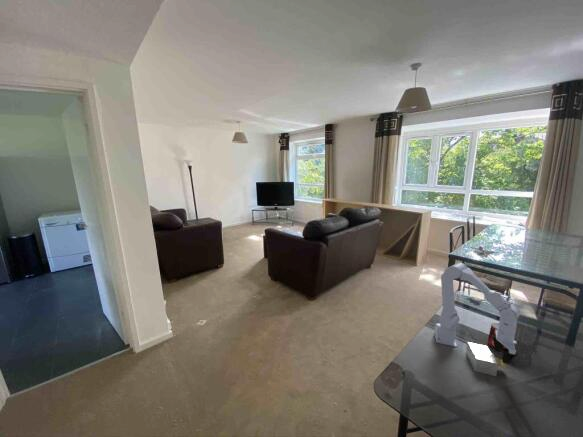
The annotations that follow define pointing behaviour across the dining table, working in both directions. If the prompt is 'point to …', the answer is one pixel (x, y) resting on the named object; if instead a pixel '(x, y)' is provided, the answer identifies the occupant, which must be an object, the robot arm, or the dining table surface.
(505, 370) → the dining table surface
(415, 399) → the dining table surface
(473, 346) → the housing
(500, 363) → the brass flanged cylinder
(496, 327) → the canned food
